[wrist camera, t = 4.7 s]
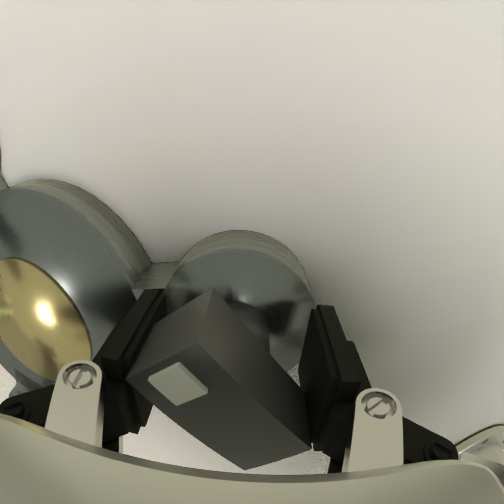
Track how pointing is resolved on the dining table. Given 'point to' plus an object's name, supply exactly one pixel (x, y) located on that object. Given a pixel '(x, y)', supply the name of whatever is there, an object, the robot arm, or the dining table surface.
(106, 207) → the levelling base
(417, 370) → the dining table surface
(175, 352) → the knob
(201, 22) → the dining table surface
